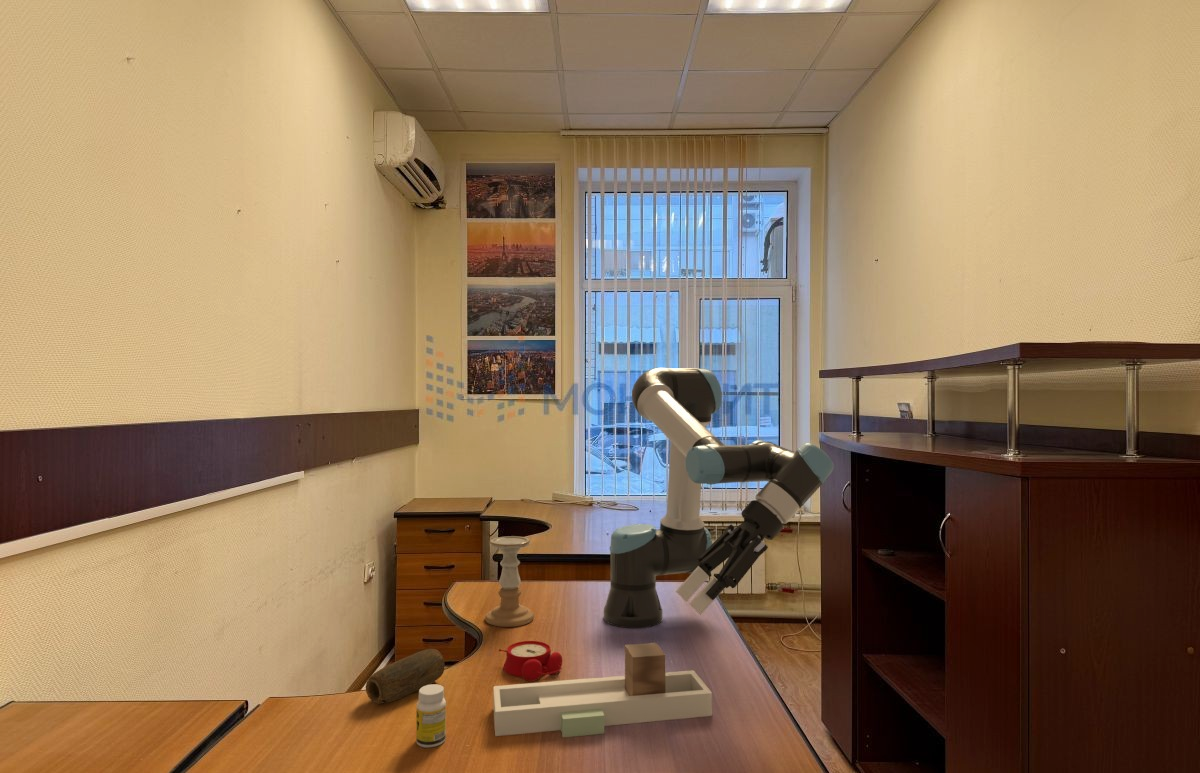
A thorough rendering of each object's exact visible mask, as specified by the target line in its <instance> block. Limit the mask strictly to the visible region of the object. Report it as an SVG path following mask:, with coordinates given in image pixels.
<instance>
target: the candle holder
mask: <svg viewBox="0 0 1200 773" xmlns="http://www.w3.org/2000/svg"><path fill="white" fill-rule="evenodd" d="M530 544H531V539H530V538H528V537H524V536H517V535H516V536H515V535H511V536H509V535H508V536H500V537H498V536H497V537H494V538H492V539H490V540H489V546H490V547H493V548H494V549H495V548H497V549H499V550H500V552H501V553H502V555H503V556H502V557H503V558H502V560H501V561H500V563H499V565H500V566H501V568H502V569H501V575H500V578H499V580H498V584H499V586H500V587H501V588H500V589H499V590H498V592H497V593H498V596H499V597H500V598H501V599H500V605H497V606H495V607H493V608H492V609H491V610H489V611H488V612H486V614H485V616H484V617H485V619H484V620H485V622H486V623H487V624H489V625H492V626H494V627H499V628H501V627H502V628H508V627H509V628H511V627H512V628H513V627H521V626H525V625H526V624H530V623H531V622H532V621H533V620H534V617H535V615H534V612H533V610H531V609H530V608H528V607H527V606H525V605H522V604H520V600H519V597H520V596H521V594H522V590H521V589H520V588H519V587H520V585H521V577H520V574H519V568H518V566H519V565H520V564H521V561H520V560H519V559H518V558H517V556H518V553H519V552H520V551H521V549H522V548H525V547H527V546H530Z"/></svg>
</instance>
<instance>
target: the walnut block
mask: <svg viewBox="0 0 1200 773" xmlns="http://www.w3.org/2000/svg"><path fill="white" fill-rule="evenodd" d="M665 673H666V653H665V652H664V651H663V650H662V649H661V647H660V646H659V644H658V643H657V642H650V643H649V642H647V643H635V644H632V643H631V644H625V645H624V676H625V690H626V692H627V693H628V695H629V696H638V695H649V694H661V693H665Z"/></svg>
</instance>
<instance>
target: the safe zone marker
mask: <svg viewBox="0 0 1200 773" xmlns="http://www.w3.org/2000/svg"><path fill="white" fill-rule="evenodd" d="M578 679H579V678H577V679H573V680H578ZM585 679H590V678H589V677H588V678H585ZM565 680H566V679H563V680H562V679H561V680H560V681H565ZM553 681H554V680H552V681H551V682H553ZM560 731H561V735H562V738H571V737H572V738H573V737H582V736H592V735H602V734H605V726H604V713H603V711H602V709H591V710H579V711H568V712H561V730H560Z"/></svg>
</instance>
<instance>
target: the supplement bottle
mask: <svg viewBox="0 0 1200 773" xmlns="http://www.w3.org/2000/svg"><path fill="white" fill-rule="evenodd" d="M444 696H445V688H444V686H443V685H440V684H437V683H436V684H434V683H433V684H432V683H431V684H429V685H426V686H423V687H422V688H420V689H419V690H418V701H417V703H416V716H415V717H416V721H415V722H416V725H415V726H416V732H415V734H416V735H415V736H416V737H415V738H416V744H417V745H418V747H422V748H434V747H435V748H436V747H438V746H441V745H442V744H443V743H445V741H446V738H447V701H446V699H445V697H444Z"/></svg>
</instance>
